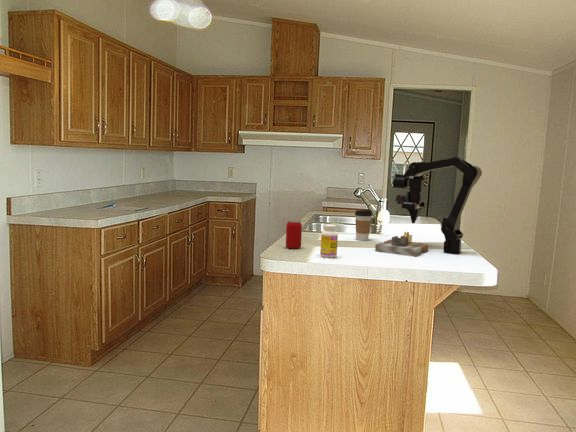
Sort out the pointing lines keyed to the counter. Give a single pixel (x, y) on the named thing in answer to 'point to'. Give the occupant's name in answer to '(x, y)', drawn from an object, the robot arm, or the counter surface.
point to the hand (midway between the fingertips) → (413, 223)
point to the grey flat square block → (401, 247)
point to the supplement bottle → (329, 241)
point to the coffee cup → (363, 224)
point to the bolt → (406, 234)
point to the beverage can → (293, 234)
